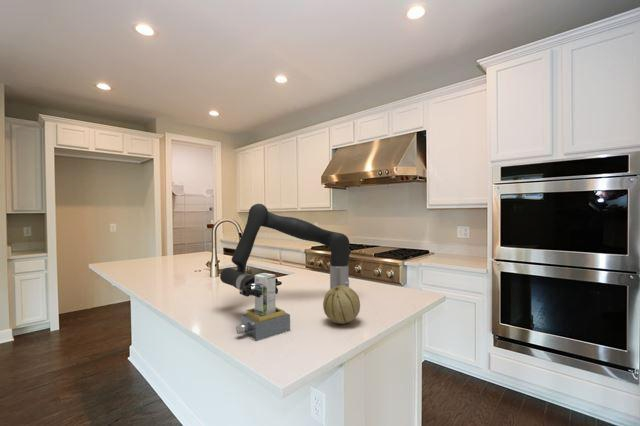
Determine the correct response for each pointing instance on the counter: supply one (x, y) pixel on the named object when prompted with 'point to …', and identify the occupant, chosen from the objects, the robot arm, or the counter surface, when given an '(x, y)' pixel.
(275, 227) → the robot arm
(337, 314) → the cantaloupe
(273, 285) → the syrup box
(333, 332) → the counter surface
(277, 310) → the tray
